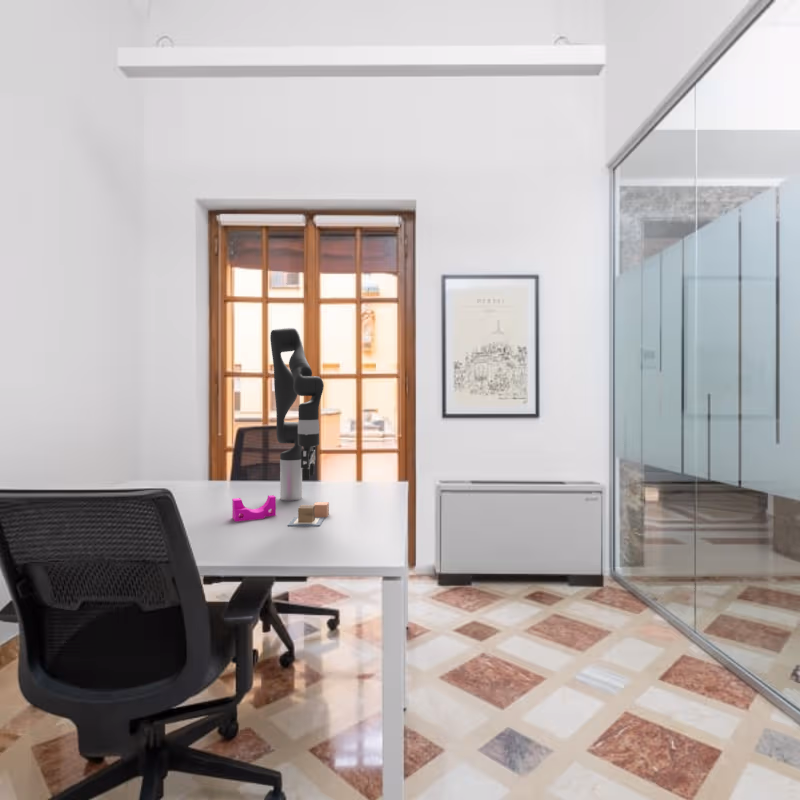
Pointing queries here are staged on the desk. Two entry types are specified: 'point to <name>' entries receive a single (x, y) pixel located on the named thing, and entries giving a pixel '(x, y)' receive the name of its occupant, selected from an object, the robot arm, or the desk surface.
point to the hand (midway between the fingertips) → (308, 477)
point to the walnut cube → (306, 513)
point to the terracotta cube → (321, 509)
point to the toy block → (253, 510)
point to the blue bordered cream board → (315, 523)
